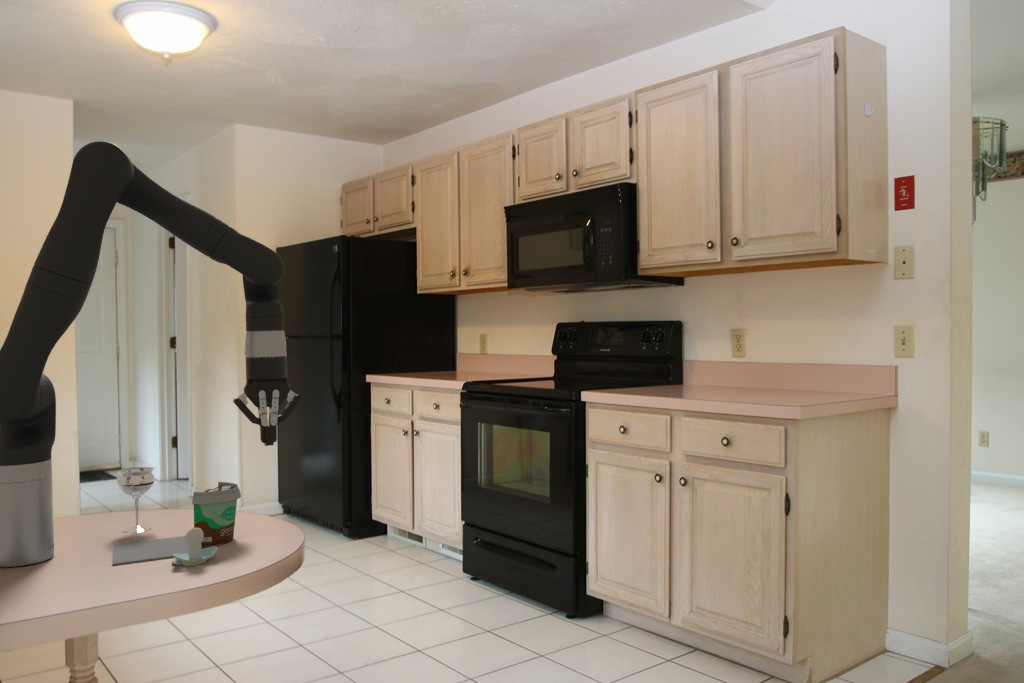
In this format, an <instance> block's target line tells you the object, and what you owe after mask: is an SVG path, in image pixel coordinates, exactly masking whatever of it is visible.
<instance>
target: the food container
mask: <svg viewBox="0 0 1024 683" xmlns="http://www.w3.org/2000/svg"><path fill="white" fill-rule="evenodd" d="M241 497H242V495H241V490H240V488H239V485H238V484H237V483H233V482H226V481H225V482H224V481H218V485H217V486H216V487H215V488H208V489H206V490H205V491H193V495H192V500H191V501H192V502H191V503H192V504H191V505H193V528H200V529H201V530H202V531H203V533H204V538H203V540H202V542H201V548H202V547H213V546H221V545H224V544H228V543H231V542H232V541H234V533H235V524H236V516H237V514H236V513H237V505H238V499H240V498H241ZM230 541H231V542H230Z"/></svg>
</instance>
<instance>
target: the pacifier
mask: <svg viewBox="0 0 1024 683" xmlns="http://www.w3.org/2000/svg"><path fill="white" fill-rule="evenodd" d="M184 536H185V542H186V543H187V544H188V553H184V554H172V556H173V557H172V558H173V560H171V564H172V565H175V566H176V565H178V566H179V565H181V566H182V565H183V567H190V566H193V567H194V566H197V565H202V564H205V563H206V562H207V560H209V559H211V558H212V557H214V556H215V555H216V554H217V552H218V549H219V548H218V545H214V546H207V547H206V548H203V549H202V547H201V542H202V540H203V538H204V533H203V531H202V530H201V529H200V528H194V527H192V528H191V529H189V530H188V531H187V533H186V534H185V535H184Z"/></svg>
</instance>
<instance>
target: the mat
mask: <svg viewBox="0 0 1024 683" xmlns="http://www.w3.org/2000/svg"><path fill="white" fill-rule="evenodd" d="M185 536H186V535H182V536H181V535H180V536H173V537H171V536H170V537H166V538H156V539H148V540H140V541H133V542H132V541H131V542H125V543H124V542H123V543H118V544H117V543H116V544H113V550H112V566H119V565H128V564H134V563H143V562H150V561H155V560H164V559H171V558H174V557H173V556H172V554H184V553H188V544H187V543H186V542H185Z"/></svg>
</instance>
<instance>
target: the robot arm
mask: <svg viewBox="0 0 1024 683" xmlns="http://www.w3.org/2000/svg"><path fill="white" fill-rule="evenodd" d="M67 180H68V181H67V185H66V187H65V188H66V189H65V192H64V196H63V200H62V203H61V206H60V209H59V210H58V214H57V216H56V217H55V220H54V222H53V223H52V226H51V227H50V229H49V231H48V232H47V233H48V234H46V237H45V240H44V241H43V242H42V246H41V248H40V249H39V250H40V251H39V253H37V254H38V255H37V257H36V259H35V261H34V263H33V266H32V269H31V271H30V274H29V277H28V279H27V282H26V284H25V287H24V289H23V290H24V291H23V293H22V296H21V298H20V301H19V303H18V305H17V309H16V311H15V313H14V316H13V319H12V322H11V324H10V327H9V331H8V333H7V335H6V337H5V339H4V342H3V343H2V346H1V348H0V568H8V567H9V568H10V567H12V568H13V567H21V566H27V565H28V566H29V565H33V564H37V563H41V562H44V561H47V560H50V559H51V558H53V557H54V556H55V541H54V540H55V538H54V537H55V536H54V505H53V504H54V502H53V501H54V498H53V468H52V467H53V466H52V464H53V460H52V449H53V446H54V444H55V441H56V434H57V432H56V430H57V427H56V426H57V424H56V423H57V396H56V390H55V386H54V385H53V382H52V380H51V379H50V378H49V377H48V376H47V375H46V374H45V373H44V370H45V367H46V364H47V362H48V360H49V357H50V355H51V352H52V351H53V349H54V348H55V346H56V345H57V343H58V342H59V340H61V338H62V337H63V335H64V334H65V333H66V332H67V330H68V329H69V328H70V326H71V325H72V324H73V322H75V320H76V318H77V317H78V315H79V314H80V312H81V310H82V308H83V306H84V304H85V302H86V299H87V297H88V295H89V292H90V289H91V287H92V284H93V283H94V278H95V274H96V272H97V270H98V269H97V268H98V264H99V260H100V255H101V250H102V249H101V248H102V244H103V238H104V233H105V229H106V226H107V223H108V221H109V219H110V216H111V215H112V213H113V211H114V209H115V207H116V204H119V205H122V206H125V207H127V208H129V209H131V210H133V211H134V212H137V213H139V214H141V215H142V216H144V217H146V218H147V219H149V220H151V221H153V222H154V223H155V224H157V225H159V226H160V227H162V228H163V229H164V230H166V231H167V232H169V233H170V234H171V235H173V236H175V237H176V238H178V239H179V240H180V241H182V242H183V243H184V244H187V245H188V246H189V247H191V248H192V249H195V250H196V251H197V252H199V253H201V254H203V256H204V255H205V256H206V257H208V258H209V259H211V260H213V261H215V262H217V263H219V264H224V265H227V266H229V267H230V268H231V269H233V270H234V271H236V272H238V273H240V274H241V275H242V283H243V285H242V286H243V291H244V292H243V294H244V300H245V340H244V341H245V342H244V344H245V345H244V356H245V375H246V377H245V378H246V379H245V380H246V382H245V386H244V387H243V392H242V393H241V394H240V395H238V396H237V397H234V398H233V399H232V403H233V404H234V405H235V406H236V407H237V408H238V409H239V411H240V412H241V413H242V414H243V415H244V416H245V417H246V418H247V419H248V421H250V423H252V424H254V425H259V432H260V433H259V434H260V442H261V443H263V445H264V446H265V447H268V446H274V445H275V443H277V440H278V434H277V433H278V432H277V430H278V428H277V426H278V425H279V424H280V423H283V422H286V421H287V419H288V418H289V417H290V416H291V414H292V412H293V411H294V410H295V408H296V407H297V406H298V405H299V403H300V402H301V400H302V396H301V395H300V394H297V393H295V392H294V391H293V390H292V389H291V385H290V383H289V382H288V357H287V339H286V334H285V315H284V314H285V312H284V306H283V303H281V297H280V296H281V294H280V293H281V292H280V290H281V289H280V281H281V280H282V279H283V277H284V275H285V272H286V270H285V269H286V267H285V262H284V260H283V259H282V257H281V255H279V253H277V252H276V251H275V250H273V249H272V248H269V247H268V246H266V245H264V244H263V243H260V242H259V241H257V240H256V239H255V240H254V239H253V238H251V237H249V236H247V235H244V234H242V233H240V232H239V231H237V230H236V229H234V228H233V227H231V226H230V225H229V224H227V223H225V222H224V221H222V220H221V219H219V218H218V217H216V216H214V215H213V214H211V213H209V212H208V211H206V210H205V209H202V207H199V206H197V205H195V204H193V203H192V202H189V201H187V200H186V199H184V198H181V197H179V196H178V195H176V194H174V193H173V192H171V191H169V190H168V189H166V188H165V187H163V186H161V185H160V184H158V183H157V182H155V181H154V180H153V179H152V178H150V177H149V176H148V175H146V174H145V173H144V172H143V171H142V170H141V169H139V167H137V165H135V164H134V163H133V162H132V160H131V159H130V157H129V155H127V153H126V152H125V151H124V150H123V149H122V148H121V147H120V146H118V145H117V144H115V143H112V142H109V141H105V140H104V141H103V140H98V141H93V142H92V141H91V142H89V143H86V144H85V145H83V146H82V147H81V148H80V149H79V150H78V151H77V152H76V154H75V156H74V158H73V160H72V164H71V168H70V172H69V176H68V179H67ZM286 397H287V399H286ZM247 398H248V399H249V400H250V402H251V403H252V404H253V405H254V407H256V408H257V412H258V413H257V414H258V417H257V416H256V415H255V414H254V413H253V412H252V411H251V409H250V408H249V407H248V406H247V405H248V404H249V402H248V400H247ZM285 399H286V401H287V404H286V405H285V406H284V407H283V408H282V410H281V411H280V413H279V407H280V406H281V405H282V403H283V402H284V400H285Z"/></svg>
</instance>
